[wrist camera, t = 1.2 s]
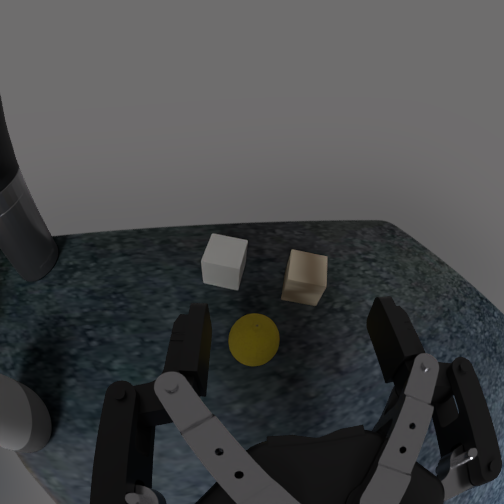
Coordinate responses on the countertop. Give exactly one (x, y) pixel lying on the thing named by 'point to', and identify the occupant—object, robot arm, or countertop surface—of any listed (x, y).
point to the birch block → (305, 278)
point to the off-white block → (224, 261)
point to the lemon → (254, 339)
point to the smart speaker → (22, 418)
